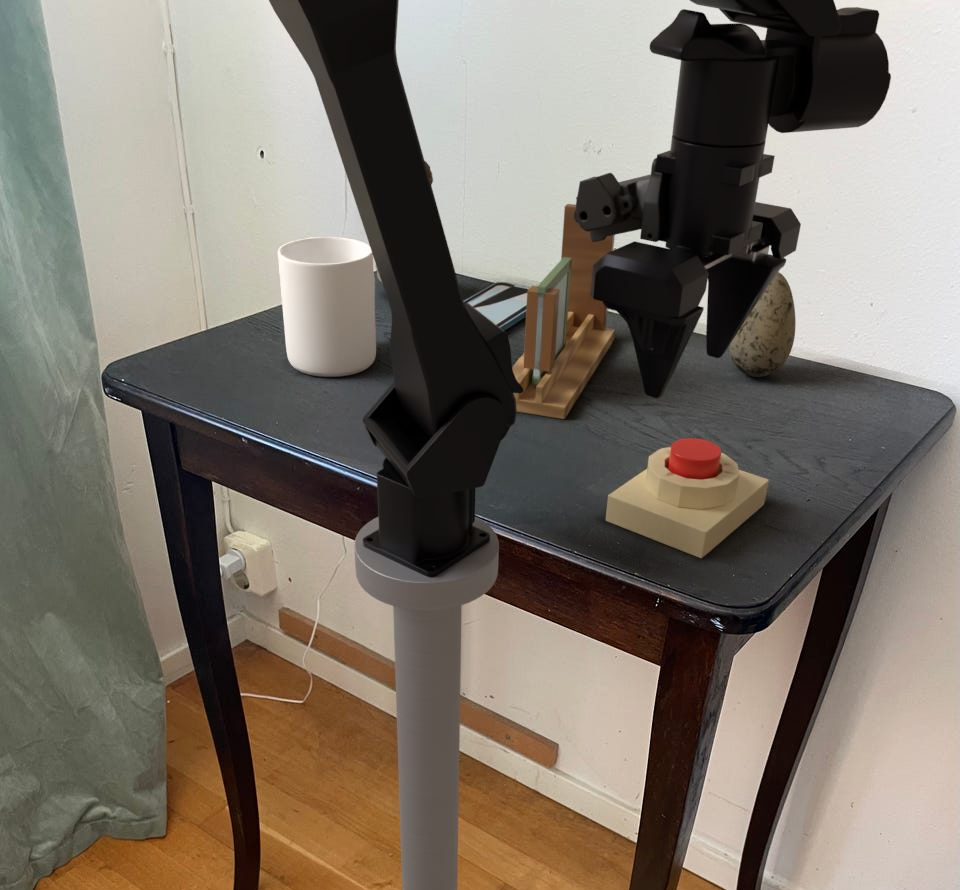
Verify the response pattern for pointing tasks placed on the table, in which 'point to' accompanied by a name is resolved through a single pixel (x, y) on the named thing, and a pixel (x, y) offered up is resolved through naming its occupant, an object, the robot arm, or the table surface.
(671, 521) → the control block
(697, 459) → the button
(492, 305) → the smartphone
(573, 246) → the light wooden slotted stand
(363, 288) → the mug
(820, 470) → the table surface
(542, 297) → the sash
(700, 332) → the table surface
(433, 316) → the robot arm
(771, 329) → the decorative egg
